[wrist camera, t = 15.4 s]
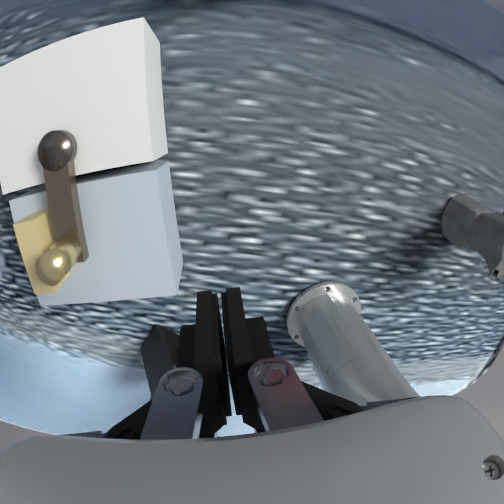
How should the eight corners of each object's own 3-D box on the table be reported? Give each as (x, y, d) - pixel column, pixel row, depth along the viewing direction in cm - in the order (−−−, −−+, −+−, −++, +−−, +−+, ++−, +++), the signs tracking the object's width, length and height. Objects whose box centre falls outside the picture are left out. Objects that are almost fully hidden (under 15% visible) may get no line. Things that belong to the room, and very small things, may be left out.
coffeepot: (440, 259, 48) (506, 309, 32) (425, 218, 45) (502, 264, 28) (489, 212, 46) (557, 246, 30) (479, 171, 42) (555, 198, 26)
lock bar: (43, 134, 24) (7, 138, 18) (75, 126, 24) (43, 128, 18) (62, 258, 29) (36, 286, 23) (93, 256, 29) (70, 285, 23)
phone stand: (140, 347, 47) (128, 401, 36) (155, 323, 46) (144, 377, 35) (188, 369, 50) (185, 423, 39) (205, 347, 48) (206, 402, 37)
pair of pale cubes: (183, 262, 42) (173, 317, 30) (65, 274, 41) (26, 325, 28) (159, 42, 30) (135, 4, 18) (32, 78, 29) (-26, 69, 16)
